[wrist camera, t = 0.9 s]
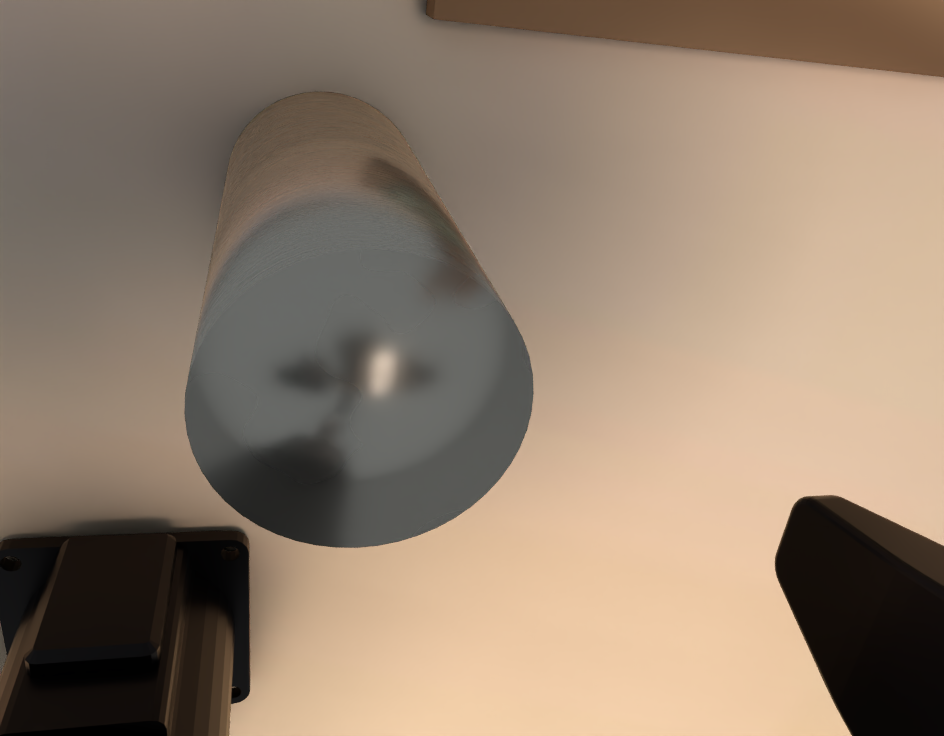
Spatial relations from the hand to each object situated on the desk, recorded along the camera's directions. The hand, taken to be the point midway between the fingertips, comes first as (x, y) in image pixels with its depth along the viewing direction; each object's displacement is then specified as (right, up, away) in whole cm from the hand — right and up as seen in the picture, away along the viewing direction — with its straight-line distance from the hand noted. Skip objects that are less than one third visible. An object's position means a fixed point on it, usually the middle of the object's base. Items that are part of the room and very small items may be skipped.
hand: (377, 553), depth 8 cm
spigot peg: (-2, +6, +11) cm, 13 cm away
